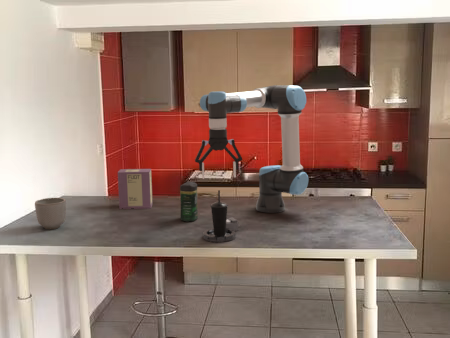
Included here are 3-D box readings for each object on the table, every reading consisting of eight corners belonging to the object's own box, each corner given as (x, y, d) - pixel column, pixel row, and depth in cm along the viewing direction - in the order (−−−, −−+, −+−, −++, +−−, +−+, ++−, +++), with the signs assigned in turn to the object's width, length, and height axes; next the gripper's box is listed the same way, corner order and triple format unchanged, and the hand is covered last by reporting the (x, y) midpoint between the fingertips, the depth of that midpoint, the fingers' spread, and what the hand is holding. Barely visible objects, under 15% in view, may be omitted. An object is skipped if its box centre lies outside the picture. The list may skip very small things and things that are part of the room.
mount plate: (233, 231, 238) (233, 227, 237) (237, 241, 224) (237, 236, 223) (202, 233, 236) (202, 228, 236) (204, 242, 223) (204, 237, 222)
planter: (39, 233, 239) (37, 205, 237) (34, 226, 251) (32, 199, 249) (70, 229, 245) (68, 202, 243) (64, 222, 257) (62, 196, 255)
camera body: (233, 227, 245) (233, 217, 245) (238, 230, 240) (238, 220, 239) (217, 229, 243) (216, 219, 242) (221, 233, 237) (221, 222, 236)
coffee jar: (194, 222, 254) (193, 184, 250) (178, 221, 255) (177, 184, 252) (199, 217, 263) (199, 180, 260) (184, 216, 265) (183, 180, 261)
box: (152, 204, 291) (151, 168, 287) (150, 208, 282) (149, 171, 278) (122, 204, 290) (120, 169, 287) (119, 209, 281) (117, 172, 278)
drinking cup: (210, 232, 233) (209, 188, 230) (227, 232, 234) (227, 188, 230) (211, 238, 226) (210, 192, 222) (229, 237, 226) (228, 192, 223)
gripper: (245, 126, 226) (246, 174, 230) (188, 128, 224) (189, 177, 228) (248, 128, 219) (249, 178, 223) (188, 130, 217) (190, 180, 221)
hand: (219, 177), depth 226 cm, fingers open, 13 cm apart
